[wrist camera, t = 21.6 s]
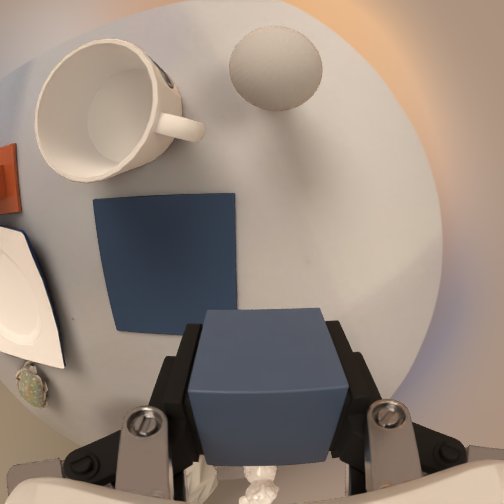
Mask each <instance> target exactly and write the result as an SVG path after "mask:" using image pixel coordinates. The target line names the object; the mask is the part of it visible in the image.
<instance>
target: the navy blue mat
mask: <svg viewBox="0 0 504 504" xmlns="http://www.w3.org/2000/svg"><path fill="white" fill-rule="evenodd" d="M93 207H94V215H95V223H96V230H97V237H98V244H99V250H100V256H101V261H102V267H103V272H104V277H105V282H106V287H107V291H108V296H109V300H110V305H111V309H112V313H113V317H114V321H115V325H116V329H117V330H118V331H129V332H141V333H154V334H170V335H183V334H184V331H185V327H186V325H187V324H188V323H192V324H202V326H203V324H204V320H205V316H206V312H207V310H237V285H236V235H235V193H220V194H179V195H155V196H136V197H120V198H105V199H94V200H93Z"/></svg>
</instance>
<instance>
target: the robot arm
mask: <svg viewBox="0 0 504 504" xmlns="http://www.w3.org/2000/svg"><path fill="white" fill-rule="evenodd" d="M325 323H326V325H327V328H328V331H329V333H330V336H331V338H332V341H333V344H334V346H335V349H336V352H337V354H338V357H339V360H340V363H341V365H342V368H343V371H344V373H345V376H346V379H347V382H348V385H349V388H348V392H347V395H346V399H345V402H344V405H343V408H342V411H341V415H340V418H339V421H338V424H337V428H336V431H335V434H334V437H333V440H332V443H331V446H330V448H329V451H331V455H332V458H338V457H339V458H340V460H341V461H343V462H345V463H346V466H345V468H346V471H345V472H346V473H345V497H342V498H335V499H329V500H322V501H315V502H305V503H295V504H504V449H497V448H487V447H479V446H472V445H469V446H468V447H467V448H465V447H464V446H463V444H462V443H461V442H460V441H458V440H457V439H455V438H452V437H449V436H447V435H444V434H441V433H439V432H436V431H434V430H431V429H428V428H426V427H423V426H421V425H419V424H416V423H413V422H412V421H411V416H410V413H409V411H408V409H407V407H406V406H405V405H404V404H402V403H400V402H399V401H396V400H393V399H382V398H381V396H380V394H379V391H378V389H377V387H376V385H375V382H374V380H373V378H372V376H371V373H370V371H369V369H368V367H367V365H366V363H365V360H364V358H363V356H362V354H361V353H360V352H352V349H351V347H350V345H349V342H348V340H347V338H346V336H345V333H344V331H343V329H342V327H341V325H340V322H339V321H338V320H337V321H325ZM202 328H203V326H202V324H192V323H188V324H187V325H186V327H185V331H184V334H183V337H182V340H181V343H180V346H179V349H178V352H177V355H176V357H175V356H166V357H165V359H164V362H163V365H162V367H161V370H160V373H159V376H158V379H157V382H156V384H155V387H154V390H153V393H152V396H151V399H150V402H149V405H148V406H139V407H136V408H134V409H132V410H130V411H129V412H127V414H126V415H125V416H124V418H123V421H122V426H121V430H119V431H117V432H115V433H113V434H110V435H108V436H106V437H104V438H102V439H100V440H97V441H95V442H93V443H90V444H88V445H86V446H84V447H81V448H79V449H76V450H74V451H73V452H71V453H70V454H69V455H68V456H67V457H66V459H65V460H60V459H59V458H56V459H50V460H44V461H38V462H32V463H25V464H18V465H14V466H13V467H11V468H10V469H9V471H8V473H7V488H8V496H9V497H8V499H7V500H6V502H5V504H201V503H191V502H189V496H188V486H187V475H186V469H187V468H188V467H190V466H191V465H193V462H199V456H200V455H204V453H203V450H202V446H201V442H200V439H199V435H198V431H197V427H196V423H195V419H194V415H193V411H192V407H191V403H190V399H189V394H188V387H189V383H190V379H191V374H192V370H193V366H194V361H195V357H196V353H197V349H198V345H199V341H200V336H201V332H202Z"/></svg>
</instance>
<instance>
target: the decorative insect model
mask: <svg viewBox="0 0 504 504" xmlns="http://www.w3.org/2000/svg"><path fill="white" fill-rule="evenodd" d="M31 363H34V362H33V361H30V360H29V361H26V362H25V364H24V366H23V367H22V368H21V369H20V370H17V372H16V375H15V376H16V385H17V387H18V389H19V393H20V395H21V396H22V397H23V398H24V399H25V400H26V401H27V402H28V403H30V404H31V405H33V406H36V407H39V408H46V407H45V406H48V403H47V400H46V398H45V397H46V396H45V395H46V392H47V391H48V388H47V384H46V382H45V381H44V383H42V380H41V378H40V377H39V376H38V375H35V374H36V373H37V371H36V367H35V366H34V367H33V366H29V367H30V368H28V365H30V364H31Z"/></svg>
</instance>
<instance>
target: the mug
mask: <svg viewBox="0 0 504 504" xmlns="http://www.w3.org/2000/svg"><path fill="white" fill-rule="evenodd" d="M204 132H205V126H204V124H203V123H200V122H197V121H194V120H190V119H187V118H183V117H182V100H181V97H180V94H179V91H178V88H177V86H176V85H175V84H174V82H173V81H172V80H171V78H170V77H169V76H168V75H167V74H166V73H165V72H164V71H163V70H162V69H161V68H160V67H159V66H158V65H157V64H156V63H155V62H154V61H153V60H152V59H151V58H150V57H149V56H148V55H147V54H146V53H145V52H144V51H143V50H141V49H140V48H138V47H137V46H135V45H134V44H132V43H131V42H128V41H124V40H119V39H115V38H111V39H99V40H95V41H92V42H90V43H87V44H84V45H82V46H80V47H78V48H77V49H75V50H74V51H72V52H71V53H69V54H68V55H66V56H65V57H64V58H63V59H62V60H61V61H60V62H59V63H58V65H57V66H56V67H55V68H54V69H53V70H52V72H51V73H50V75H49V77H48V78H47V80H46V81H45V83H44V85H43V87H42V90H41V93H40V95H39V98H38V101H37V106H36V113H35V135H36V139H37V142H38V146H39V149H40V152H41V153H42V155H43V157H44V159H45V160H46V162H47V164H48V165H49V166H50V167H51V168H53V169H54V170H55V171H56V172H57V173H58V174H59V175H61V176H63V177H65V178H67V179H69V180H71V181H75V182H83V183H92V182H97V181H102V180H106V179H108V178H111V177H113V176H116V175H118V174H121V173H123V172H126V171H129V170H131V169H134V168H137V167H139V166H142V165H144V164H147V163H149V162H151V161H153V160H155V159H156V158H157V157H158V156H160V155H161V154H162V153H164V152H165V151H166V149H167V148H168V147H169V145H170V144H171V143H172V142H173V140H174V138H178V139H182V140H186V141H191V142H196V143H197V142H199V141H200V140H201V139H202V137H203V135H204Z"/></svg>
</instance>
